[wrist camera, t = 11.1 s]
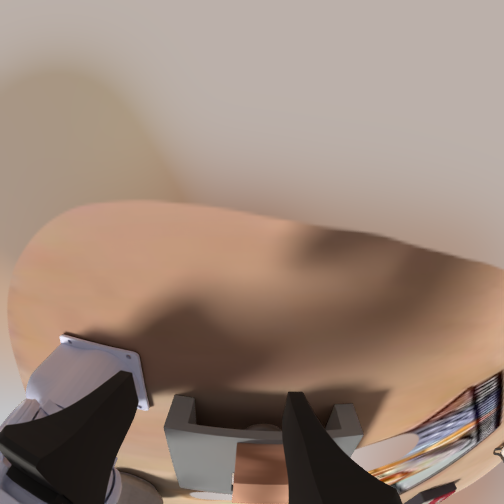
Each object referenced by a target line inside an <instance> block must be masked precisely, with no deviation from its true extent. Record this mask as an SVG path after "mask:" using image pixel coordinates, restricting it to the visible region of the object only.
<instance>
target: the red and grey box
mask: <svg viewBox="0 0 504 504" xmlns="http://www.w3.org/2000/svg"><path fill="white" fill-rule="evenodd" d="M456 489H457V488H456V486H455V484H454V482H453V483H450V484H447V485H444V486H441V487H438V488H435V489H430V490H427V491H423V492H420V493H419V494H417V495H416V496H414V497H413V498H412V499H410V500H409V501H407V502H406V503H404V504H439V503H440V502H442V500H444V499H446V498H447V497H448V496H450V495H451V494H453V493H454V492H455V490H456Z"/></svg>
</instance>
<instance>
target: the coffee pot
mask: <svg viewBox="0 0 504 504" xmlns="http://www.w3.org/2000/svg"><path fill="white" fill-rule="evenodd" d="M119 473H120V475H121V483H122V489H121V494H120V497H119V500H118V502H117V503H116V504H163V499H162V497H161V496H160V494H159V493H158V491H156V488H155V487H154V486H153V485H152V484H151V483H149V482H147V481H146V480H144V479H142V478H139V477H137V476H135V475H132V474H128V473H125V472H119Z"/></svg>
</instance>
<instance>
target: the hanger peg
mask: <svg viewBox="0 0 504 504" xmlns="http://www.w3.org/2000/svg"><path fill="white" fill-rule="evenodd" d="M245 430H254V431H281V429H280V428H279V427H277V426H275V425H271V424H254V425H251V426H249V427H247V428H246V429H245ZM288 501H289V489H288V475H287V468H286V461H285V454H284V447H283V444H252V443H237V448H236V460H235V472H234V484H233V497H232V503H247V504H287V503H288Z"/></svg>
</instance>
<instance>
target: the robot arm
mask: <svg viewBox="0 0 504 504" xmlns="http://www.w3.org/2000/svg"><path fill="white" fill-rule="evenodd" d="M60 341H61V344H60V345H59V346H58V347H57V348H56V349H55V350H54V351H53V352H52V353H51V354H50V355H49V356H48V357H47V358H46V359H45V360H44V361H43V362H42V364H41V365H40V366H39V367H38V368H37V369H36V370H35V371H34V372H33V373H32V375H31V377H30V379H29V381H28V384H27V388H26V399H25V400H24V401H22V402H21V403H20V404H19V405H18V406H17V407H16V408H15V409H14V410H13V412H12V413H11V414H10V415H9V416H8V417H7V419H6V420H5V421H4V422H3V424H2V425H1V426H0V504H116V503H117V502H118V500H119V497H120V494H121V489H122V483H121V475H120V473H119V471H118V470H117V469H116V468H115V467H114V466H115V463H116V461H117V457H116V456H117V453H118V451H119V449H120V447H121V444H122V442H123V440H124V438H125V436H126V434H127V432H128V430H129V428H130V426H131V423H132V421H133V419H134V416H135V413H136V410H137V409H141V410H145V411H147V410H149V402H148V398H147V393H146V388H145V384H144V379H143V373H142V368H141V362H140V357H139V355H138V354H137V353H136V352H133V351H128V350H123V349H119V348H114V347H110V346H106V345H102V344H98V343H94V342H90V341H86V340H82V339H79V338H75V337H72V336H68V335H65V334H62V335H61V336H60ZM128 355H130V356H131V357H130V356H128ZM282 440H283V447H284V454H285V461H286V468H287V475H288V489H289V504H402V502H401V499H400V496H399V494H398V492H397V490H396V489H395V488H393V487H391V486H389V485H387V484H385V483H384V482H382V481H380V480H378V479H377V478H375V477H374V476H372V475H371V474H369V473H368V472H367V471H365V470H364V469H363V468H362V467H360V466H359V465H358V464H357V463H355V462H354V461H353V460H352V459H351V458H350V457H349V456H348V455H347V454H346V453H345V452H344V451H343V450H342V449H341V448H340V447H339V446H338V445H337V444H336V442H335V441H334V440H333V439H332V438H331V436H330V435H329V434H328V432H327V431H326V430H325V428H324V427H323V425H322V424H321V422H320V421H319V420H318V418H317V416H316V415H315V413H314V412H313V410H312V408H311V406H310V405H309V403H308V401H307V399H306V397H305V395H304V393H303V392H288V396H287V401H286V405H285V409H284V413H283V417H282Z"/></svg>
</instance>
